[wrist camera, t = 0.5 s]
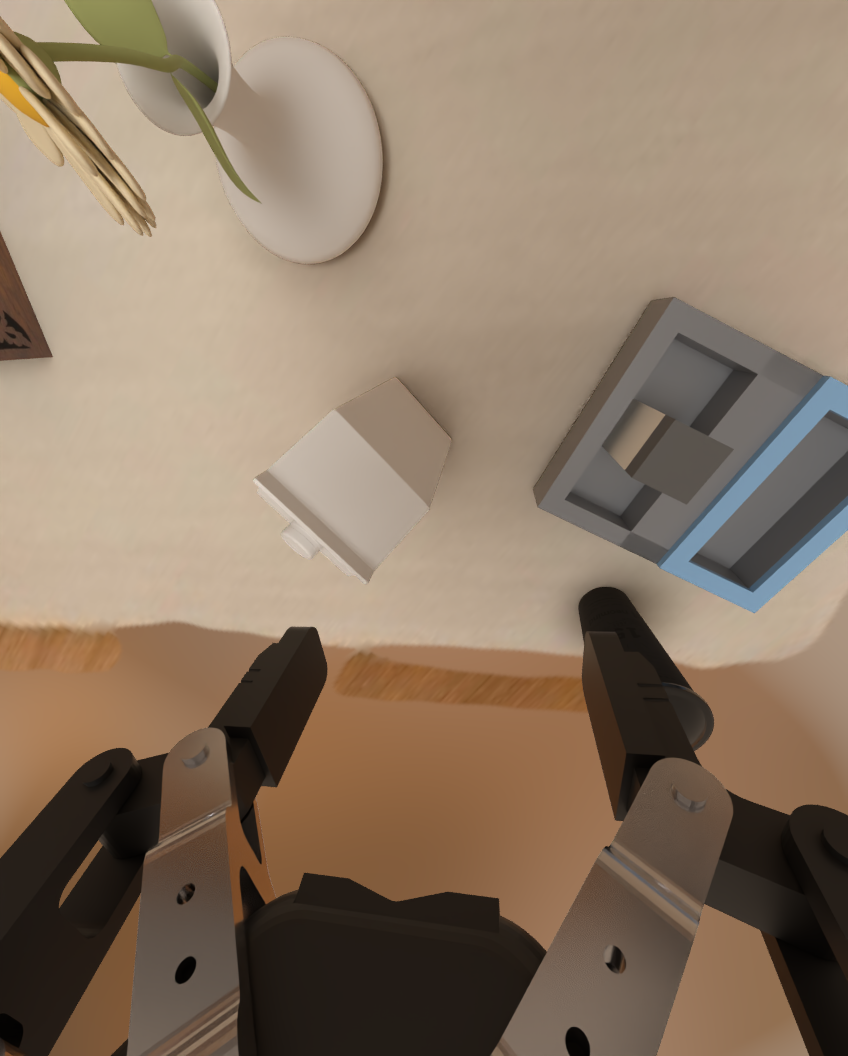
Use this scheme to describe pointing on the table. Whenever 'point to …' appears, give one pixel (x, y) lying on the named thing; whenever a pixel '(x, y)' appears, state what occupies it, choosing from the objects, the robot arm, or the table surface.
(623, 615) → the drinking cup
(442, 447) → the milk carton
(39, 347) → the tissue box cover
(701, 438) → the gray rectangular block
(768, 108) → the table surface
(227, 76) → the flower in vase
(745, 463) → the divided storage tray
